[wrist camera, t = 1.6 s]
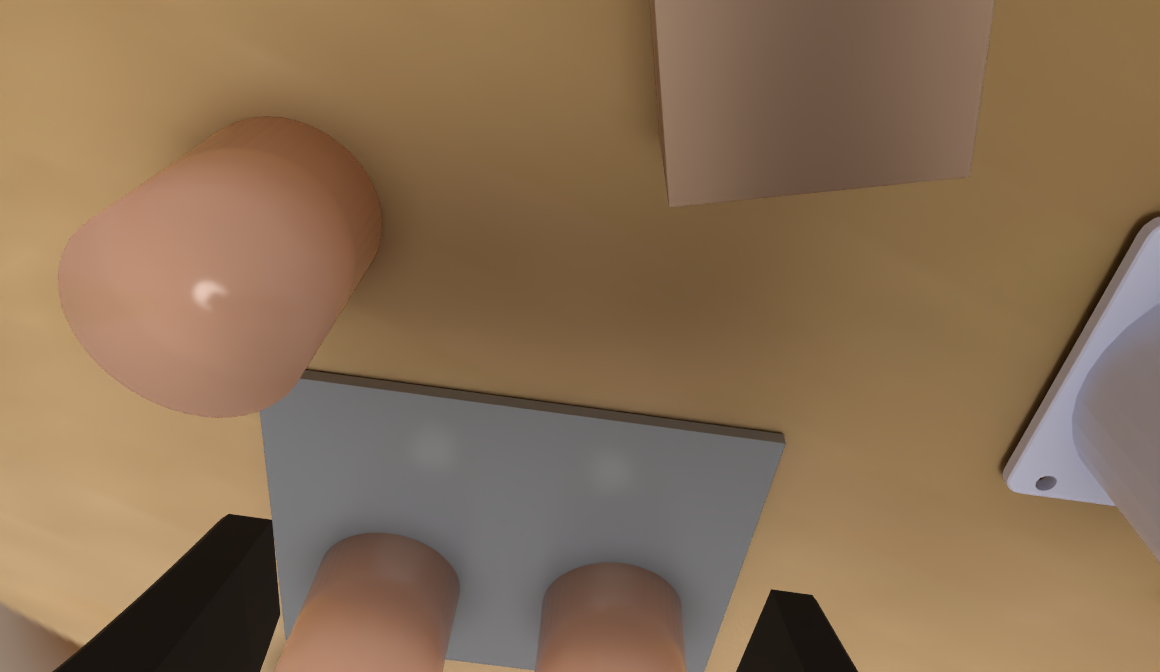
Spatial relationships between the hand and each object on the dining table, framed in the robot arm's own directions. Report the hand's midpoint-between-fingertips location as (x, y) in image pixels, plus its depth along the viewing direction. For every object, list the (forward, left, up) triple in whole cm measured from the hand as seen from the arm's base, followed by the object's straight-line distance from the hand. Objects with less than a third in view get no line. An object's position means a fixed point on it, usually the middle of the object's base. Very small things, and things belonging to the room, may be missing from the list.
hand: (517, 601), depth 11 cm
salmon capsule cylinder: (-3, +11, -9) cm, 14 cm away
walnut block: (-3, -7, -9) cm, 12 cm away
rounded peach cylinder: (+7, -1, -9) cm, 11 cm away
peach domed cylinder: (+4, +11, -9) cm, 14 cm away
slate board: (+1, +9, -9) cm, 12 cm away
